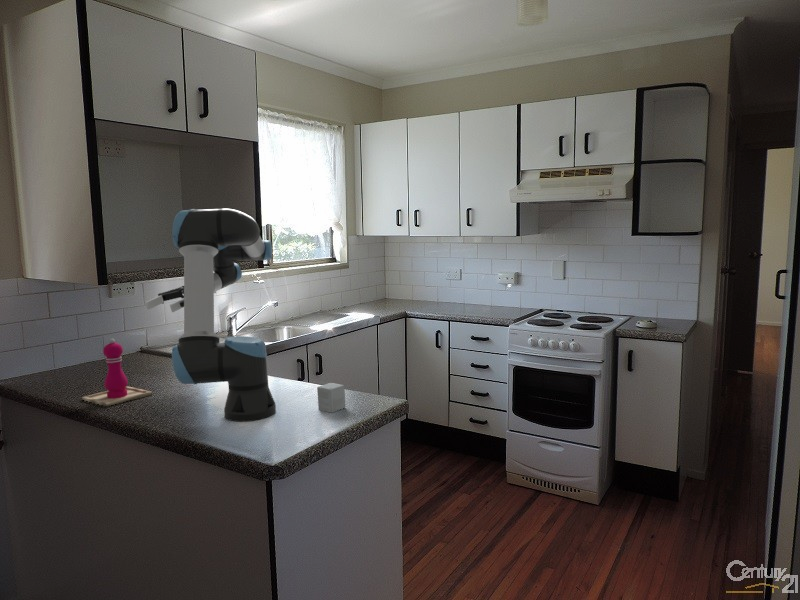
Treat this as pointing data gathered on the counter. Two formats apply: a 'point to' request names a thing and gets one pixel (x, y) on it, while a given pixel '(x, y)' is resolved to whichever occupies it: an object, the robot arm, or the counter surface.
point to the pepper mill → (115, 371)
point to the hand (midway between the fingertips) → (158, 307)
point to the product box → (331, 397)
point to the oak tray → (105, 401)
